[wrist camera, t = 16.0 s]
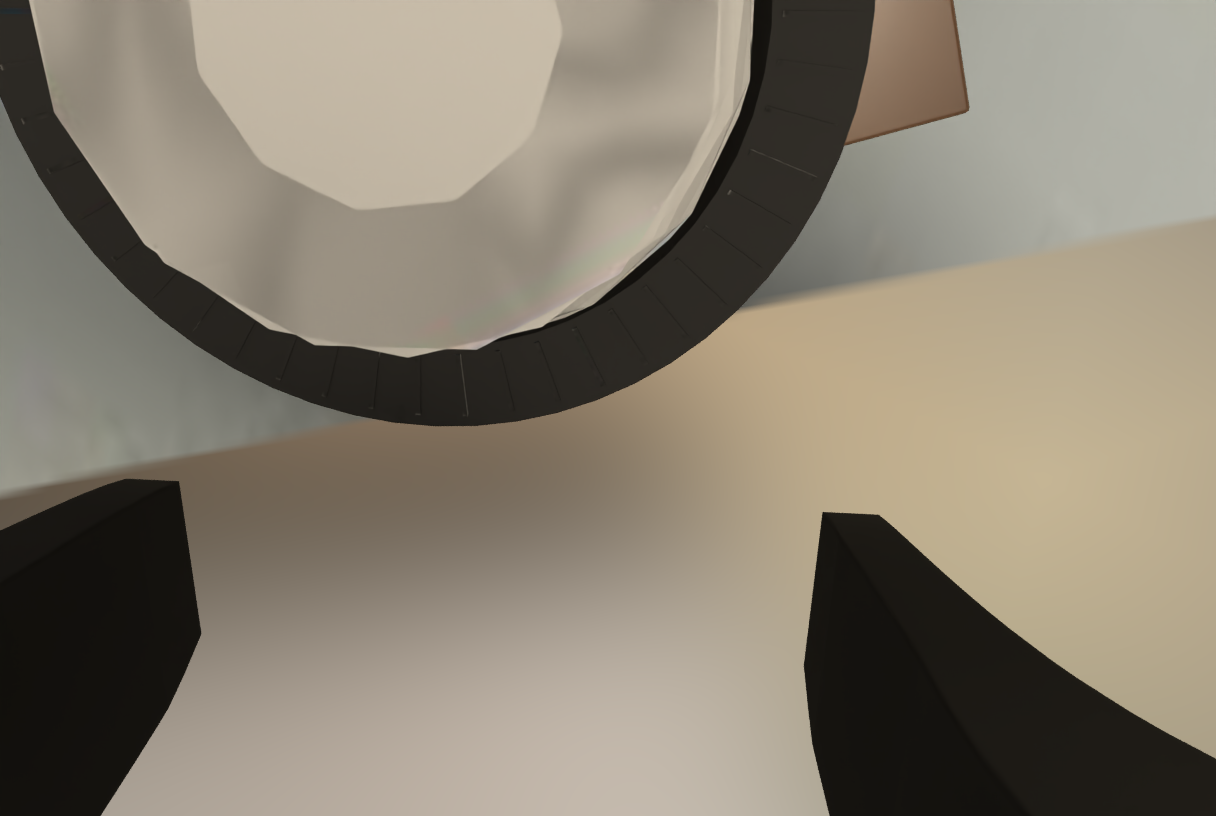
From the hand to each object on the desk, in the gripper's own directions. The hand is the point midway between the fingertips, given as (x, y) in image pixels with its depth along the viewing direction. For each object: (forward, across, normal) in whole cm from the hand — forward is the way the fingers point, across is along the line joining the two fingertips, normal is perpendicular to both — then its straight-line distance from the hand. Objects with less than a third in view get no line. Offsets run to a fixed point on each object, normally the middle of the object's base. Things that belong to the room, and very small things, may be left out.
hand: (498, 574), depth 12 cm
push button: (+6, 0, -7) cm, 9 cm away
